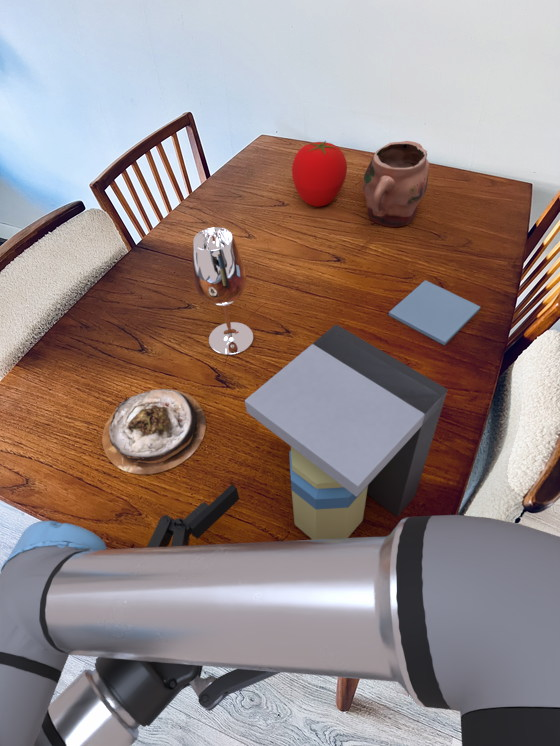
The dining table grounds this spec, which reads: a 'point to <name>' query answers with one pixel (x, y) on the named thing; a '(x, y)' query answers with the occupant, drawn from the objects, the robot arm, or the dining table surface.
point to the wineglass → (221, 285)
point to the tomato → (319, 172)
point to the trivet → (434, 312)
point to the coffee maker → (354, 415)
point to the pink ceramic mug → (396, 183)
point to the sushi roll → (153, 431)
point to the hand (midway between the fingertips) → (279, 529)
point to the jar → (322, 501)
